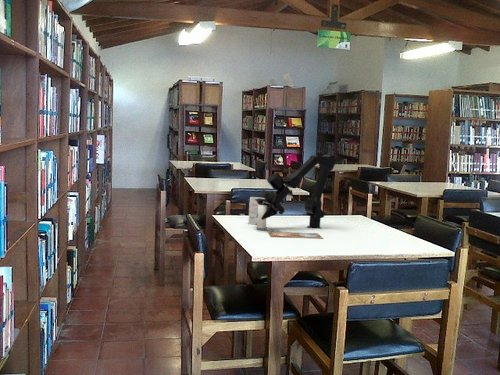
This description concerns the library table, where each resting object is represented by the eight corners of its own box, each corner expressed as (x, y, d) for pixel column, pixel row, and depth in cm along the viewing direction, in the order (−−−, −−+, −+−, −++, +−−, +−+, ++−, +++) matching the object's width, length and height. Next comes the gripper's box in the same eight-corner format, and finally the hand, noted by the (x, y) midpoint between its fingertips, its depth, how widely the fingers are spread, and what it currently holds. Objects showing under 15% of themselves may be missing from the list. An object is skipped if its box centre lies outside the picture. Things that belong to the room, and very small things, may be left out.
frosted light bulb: (256, 230, 257) (257, 204, 255) (265, 230, 257) (266, 204, 256) (257, 232, 252) (258, 205, 251) (266, 232, 253) (267, 206, 251)
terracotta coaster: (270, 232, 249) (271, 231, 249) (289, 233, 249) (289, 232, 249) (273, 236, 240) (273, 235, 240) (292, 236, 241) (292, 236, 241)
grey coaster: (297, 233, 250) (297, 232, 250) (315, 234, 251) (315, 233, 251) (300, 237, 241) (300, 236, 241) (319, 237, 242) (319, 237, 242)
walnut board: (267, 233, 251) (267, 231, 250) (317, 234, 253) (317, 233, 253) (270, 238, 238) (270, 237, 238) (323, 240, 240) (323, 238, 240)
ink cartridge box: (265, 224, 276) (267, 197, 274) (263, 225, 271) (265, 198, 270) (250, 222, 278) (251, 195, 277) (248, 224, 273) (249, 196, 272)
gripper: (260, 182, 262) (240, 204, 258) (280, 186, 246) (259, 210, 242) (272, 197, 267) (253, 219, 263) (293, 202, 251) (273, 225, 247)
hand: (259, 218), depth 253 cm, fingers closed on frosted light bulb, 4 cm apart
